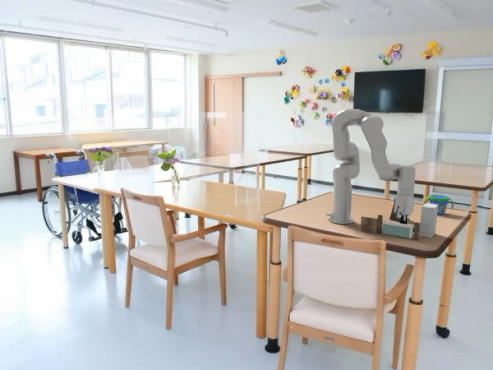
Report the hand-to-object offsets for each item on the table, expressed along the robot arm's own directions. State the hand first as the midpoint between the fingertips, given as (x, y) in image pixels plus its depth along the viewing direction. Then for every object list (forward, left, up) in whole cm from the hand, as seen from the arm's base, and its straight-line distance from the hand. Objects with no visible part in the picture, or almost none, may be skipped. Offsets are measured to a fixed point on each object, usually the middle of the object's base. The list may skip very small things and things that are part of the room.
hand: (403, 227), depth 204 cm
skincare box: (+11, +4, -3) cm, 12 cm away
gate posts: (-5, -6, -3) cm, 9 cm away
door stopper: (-8, +24, -3) cm, 26 cm away
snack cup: (+7, +50, -3) cm, 51 cm away
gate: (-1, -7, -2) cm, 7 cm away
